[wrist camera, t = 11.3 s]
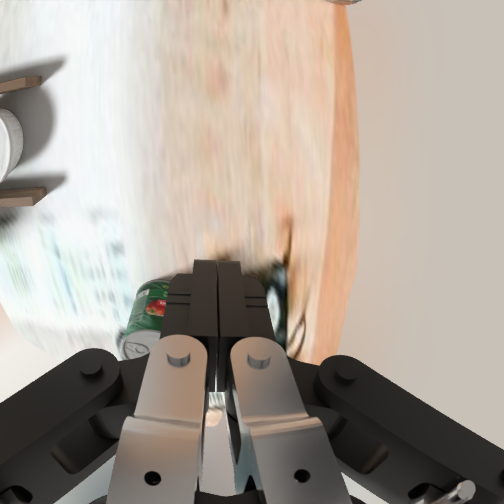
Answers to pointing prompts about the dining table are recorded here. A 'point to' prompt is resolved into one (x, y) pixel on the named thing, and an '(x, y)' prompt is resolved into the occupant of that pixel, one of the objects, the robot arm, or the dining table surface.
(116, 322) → the dining table surface
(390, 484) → the robot arm
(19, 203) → the walnut bay
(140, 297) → the canned tomato
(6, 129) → the ramekin
